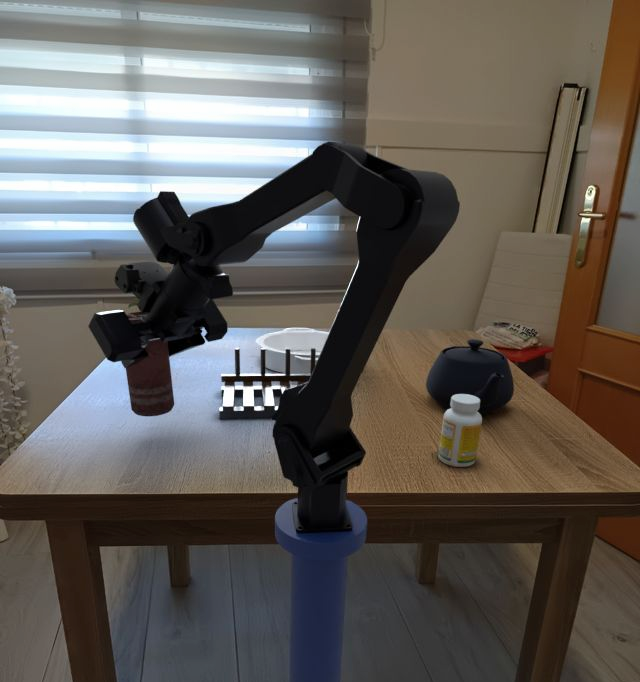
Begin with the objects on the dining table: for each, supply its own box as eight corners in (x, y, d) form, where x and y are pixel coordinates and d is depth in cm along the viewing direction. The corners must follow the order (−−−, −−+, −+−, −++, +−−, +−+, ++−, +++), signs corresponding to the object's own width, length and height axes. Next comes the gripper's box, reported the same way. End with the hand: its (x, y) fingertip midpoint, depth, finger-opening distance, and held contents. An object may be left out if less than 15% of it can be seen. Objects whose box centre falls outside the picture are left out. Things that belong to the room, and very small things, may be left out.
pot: (370, 381, 118) (372, 358, 116) (262, 384, 114) (262, 360, 112) (341, 345, 144) (342, 326, 142) (251, 347, 140) (251, 327, 138)
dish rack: (338, 418, 98) (340, 369, 94) (219, 420, 95) (217, 370, 92) (327, 391, 111) (328, 347, 107) (222, 392, 108) (220, 347, 105)
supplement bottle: (434, 463, 83) (442, 400, 79) (442, 449, 87) (450, 389, 84) (472, 471, 81) (481, 407, 77) (478, 456, 85) (487, 395, 82)
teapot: (410, 385, 116) (416, 325, 112) (484, 385, 118) (493, 326, 113) (447, 433, 93) (456, 360, 89) (538, 432, 95) (552, 361, 90)
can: (136, 402, 87) (123, 310, 81) (178, 402, 87) (168, 309, 82) (124, 417, 81) (110, 319, 76) (169, 417, 81) (158, 319, 76)
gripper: (210, 239, 80) (168, 308, 90) (86, 245, 66) (52, 325, 77) (251, 303, 78) (203, 366, 89) (132, 323, 65) (92, 394, 75)
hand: (141, 361), depth 82 cm, fingers closed on can, 5 cm apart
